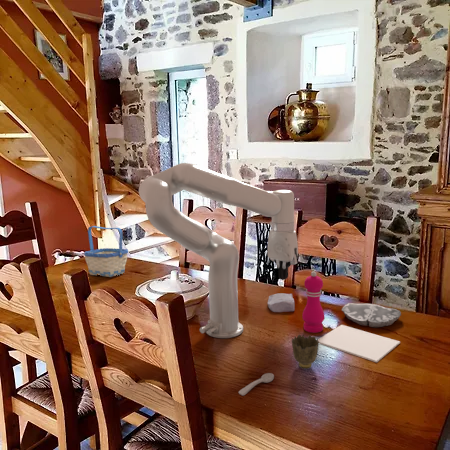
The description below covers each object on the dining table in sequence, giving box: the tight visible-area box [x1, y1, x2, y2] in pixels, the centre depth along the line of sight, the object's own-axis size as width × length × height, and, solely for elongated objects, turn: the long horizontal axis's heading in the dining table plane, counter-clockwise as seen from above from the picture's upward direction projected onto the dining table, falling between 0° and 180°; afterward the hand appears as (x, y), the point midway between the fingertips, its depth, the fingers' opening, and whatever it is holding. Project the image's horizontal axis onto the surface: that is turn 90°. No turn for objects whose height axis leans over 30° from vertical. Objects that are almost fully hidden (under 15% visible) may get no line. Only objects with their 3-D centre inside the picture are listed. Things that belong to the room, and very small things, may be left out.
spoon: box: [238, 372, 275, 396], centre depth 118 cm, size 3×12×2 cm, turn 131°
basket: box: [83, 225, 129, 278], centre depth 218 cm, size 21×16×24 cm
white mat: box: [317, 324, 401, 363], centre depth 140 cm, size 16×20×1 cm
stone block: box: [267, 293, 296, 313], centre depth 172 cm, size 12×5×10 cm
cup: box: [291, 334, 320, 370], centre depth 126 cm, size 8×7×8 cm
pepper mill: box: [302, 270, 326, 334], centre depth 149 cm, size 7×7×20 cm
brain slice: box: [341, 302, 402, 328], centre depth 157 cm, size 20×17×3 cm
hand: (283, 278), depth 157 cm, fingers closed
